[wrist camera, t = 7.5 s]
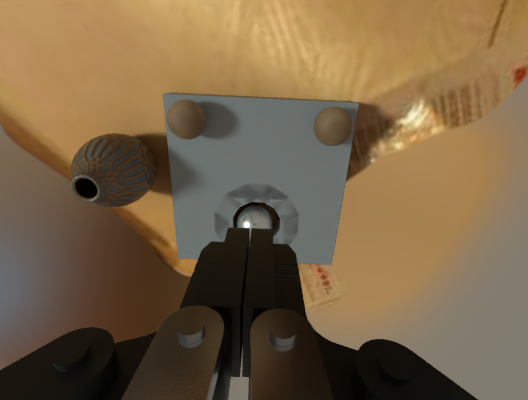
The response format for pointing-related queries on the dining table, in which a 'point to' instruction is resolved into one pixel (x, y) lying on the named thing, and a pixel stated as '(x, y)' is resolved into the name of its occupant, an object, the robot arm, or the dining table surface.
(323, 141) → the walnut ball
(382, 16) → the dining table surface
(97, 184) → the vase
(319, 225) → the hole plate
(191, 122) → the walnut ball
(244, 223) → the steel ball
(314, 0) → the dining table surface
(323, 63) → the dining table surface
